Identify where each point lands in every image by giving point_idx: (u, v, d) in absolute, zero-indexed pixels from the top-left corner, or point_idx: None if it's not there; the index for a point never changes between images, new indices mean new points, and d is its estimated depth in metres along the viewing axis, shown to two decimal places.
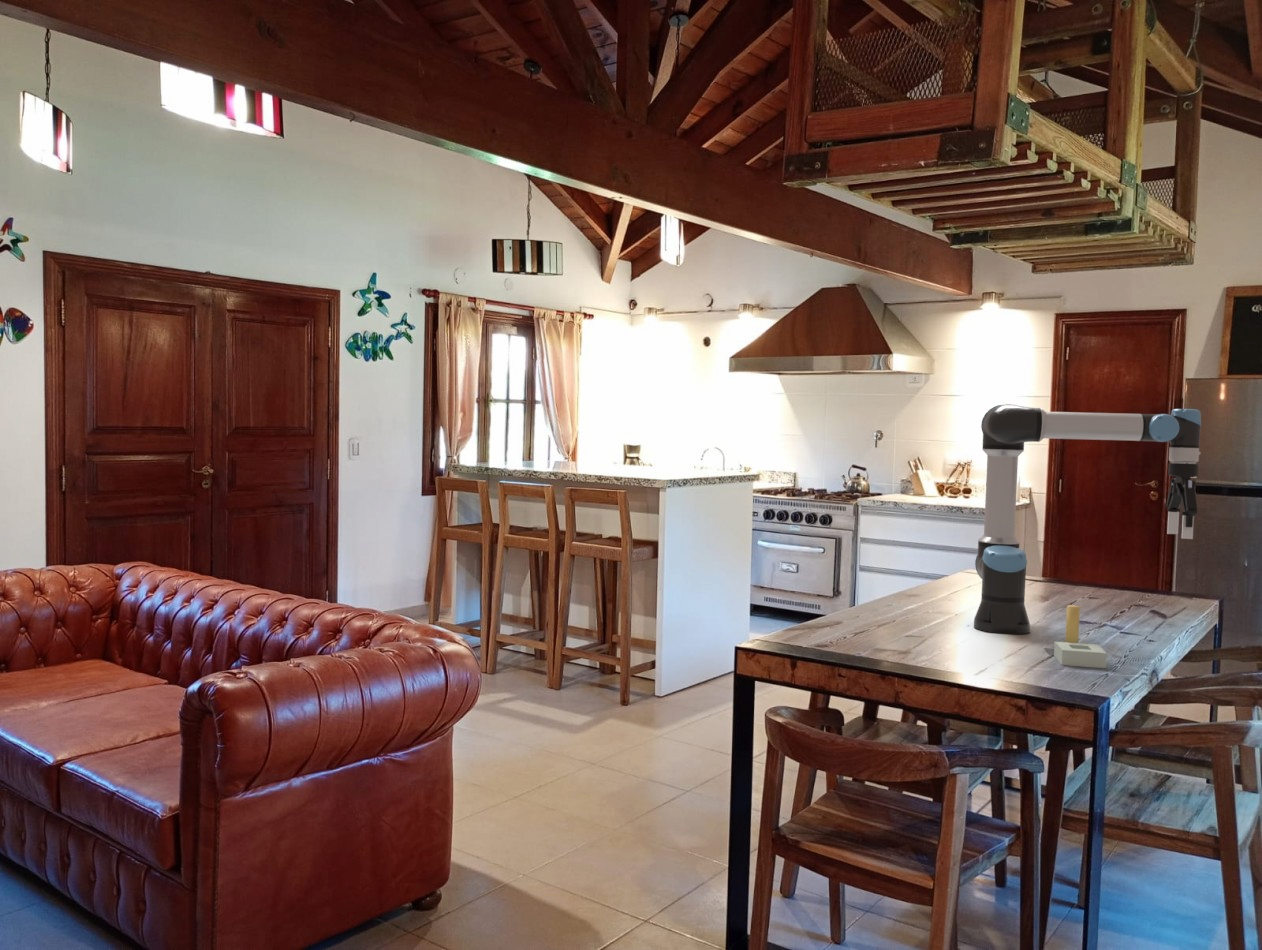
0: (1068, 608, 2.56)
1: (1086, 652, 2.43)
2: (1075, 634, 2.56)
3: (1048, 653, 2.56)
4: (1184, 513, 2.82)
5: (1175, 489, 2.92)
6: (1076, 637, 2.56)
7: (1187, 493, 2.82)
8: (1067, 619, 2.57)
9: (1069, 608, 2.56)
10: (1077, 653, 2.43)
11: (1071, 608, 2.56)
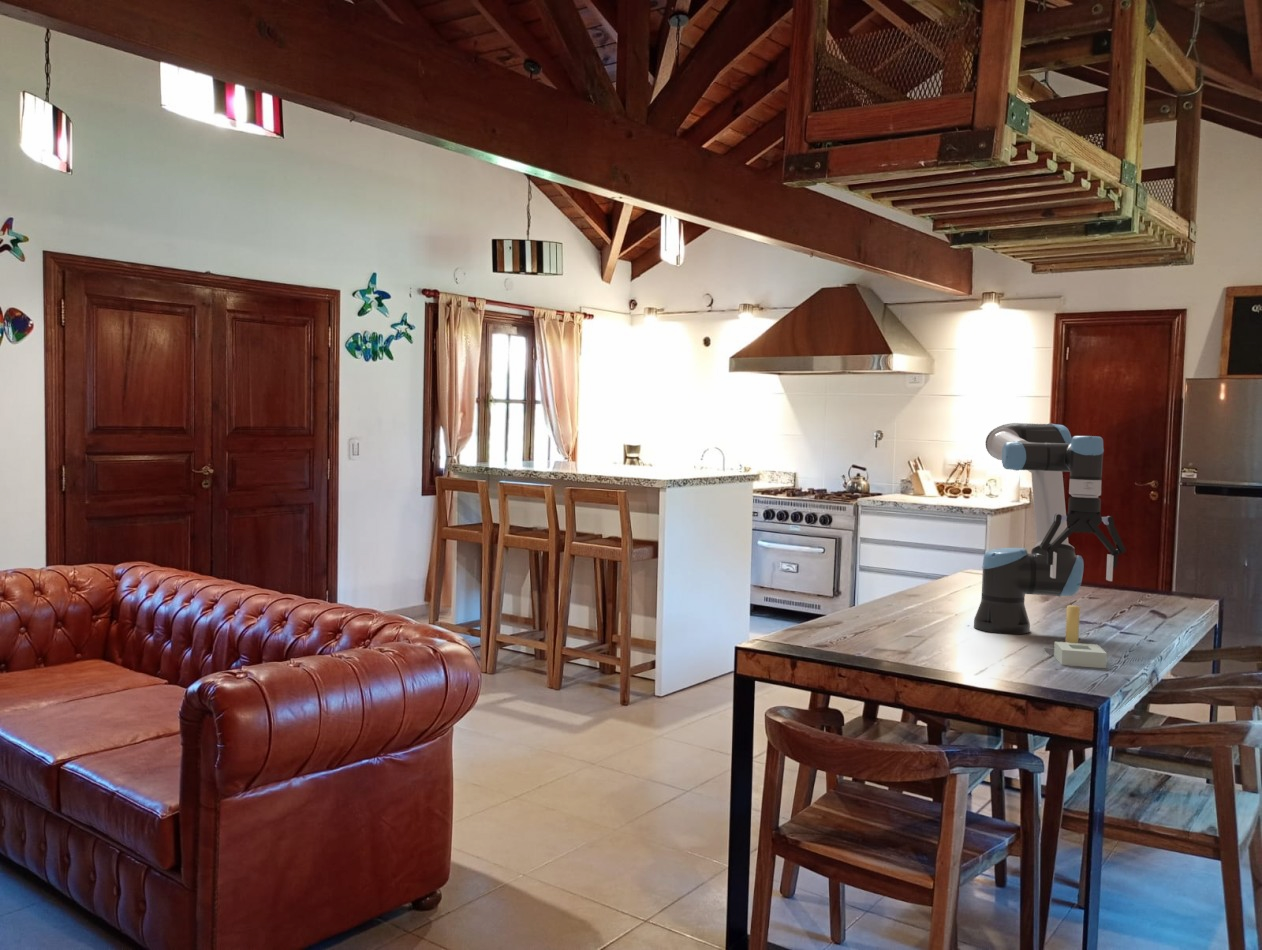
0: (1068, 608, 2.56)
1: (1086, 652, 2.43)
2: (1075, 634, 2.56)
3: (1048, 653, 2.56)
4: None
5: None
6: (1076, 637, 2.56)
7: (1050, 527, 2.59)
8: (1067, 619, 2.57)
9: (1069, 608, 2.56)
10: (1077, 653, 2.43)
11: (1071, 608, 2.56)
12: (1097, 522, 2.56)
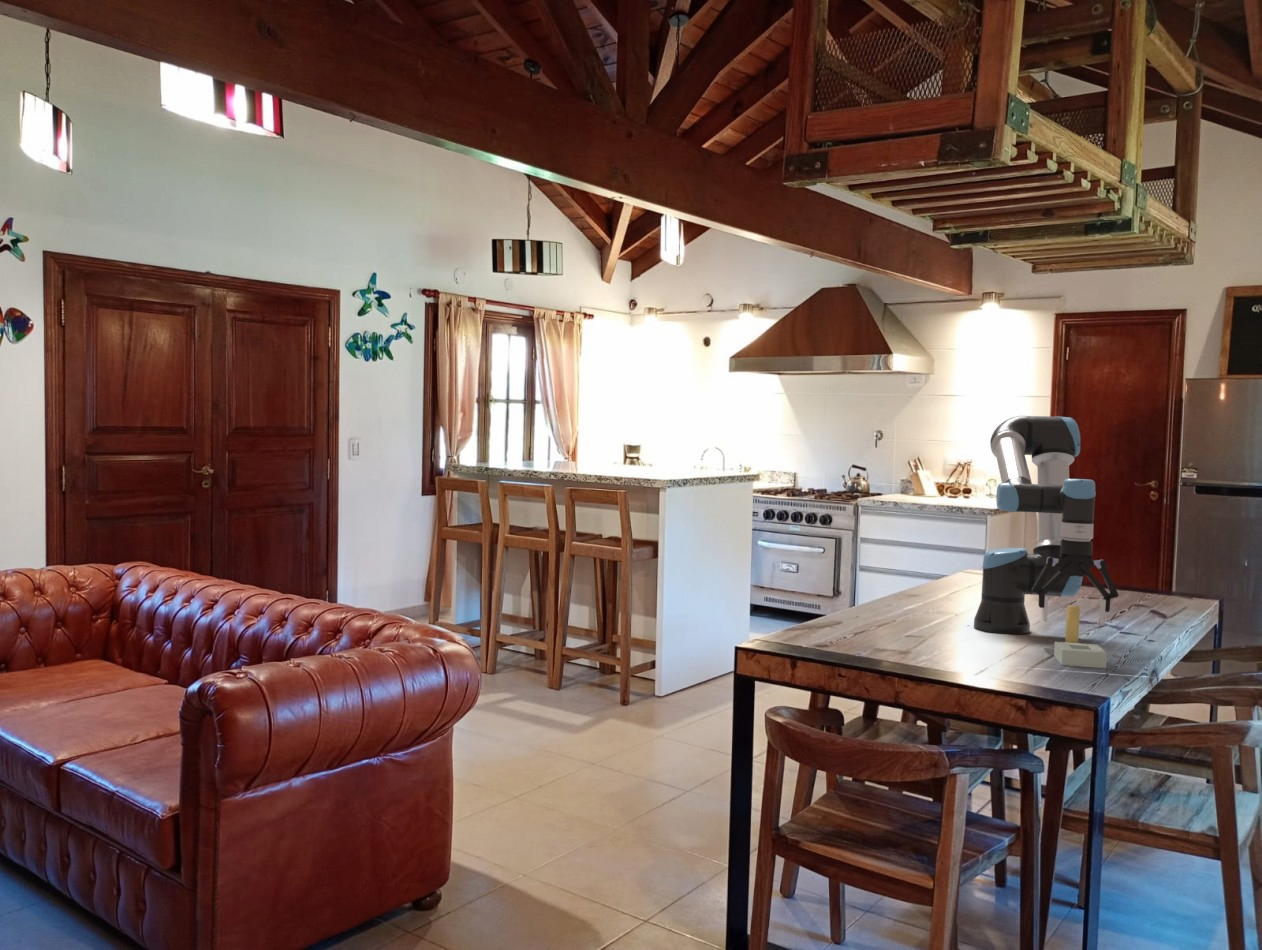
0: (1068, 608, 2.56)
1: (1086, 652, 2.43)
2: (1075, 634, 2.56)
3: (1048, 653, 2.56)
4: None
5: None
6: (1076, 637, 2.56)
7: (1042, 570, 2.59)
8: (1067, 619, 2.57)
9: (1069, 608, 2.56)
10: (1077, 653, 2.43)
11: (1071, 608, 2.56)
12: (1089, 566, 2.54)
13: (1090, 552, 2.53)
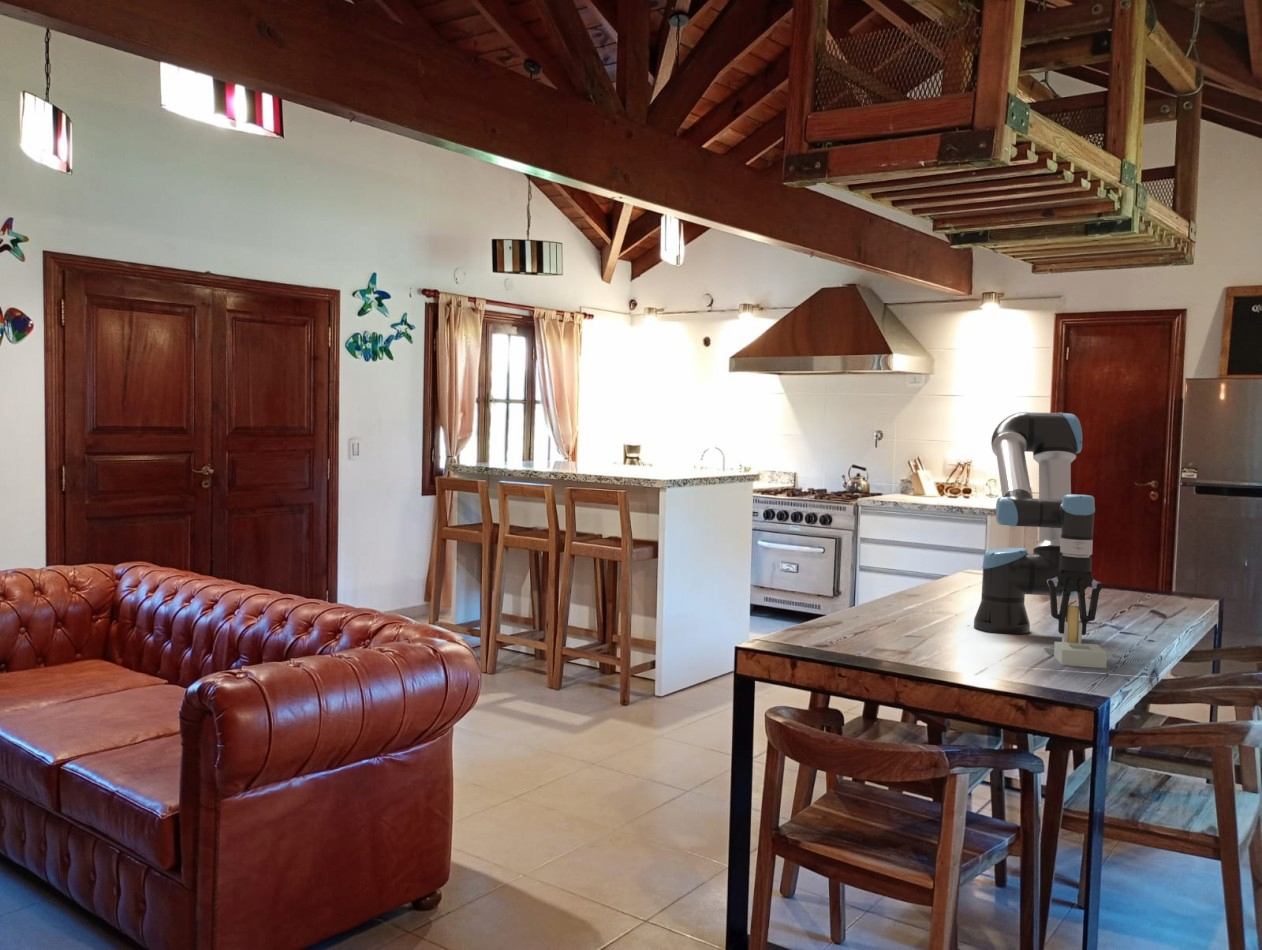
0: (1067, 608, 2.56)
1: (1086, 652, 2.43)
2: (1075, 634, 2.56)
3: (1048, 653, 2.56)
4: None
5: None
6: (1075, 637, 2.56)
7: (1050, 594, 2.59)
8: (1066, 619, 2.57)
9: (1068, 608, 2.56)
10: (1077, 653, 2.43)
11: (1070, 608, 2.56)
12: (1088, 581, 2.55)
13: (1089, 568, 2.53)
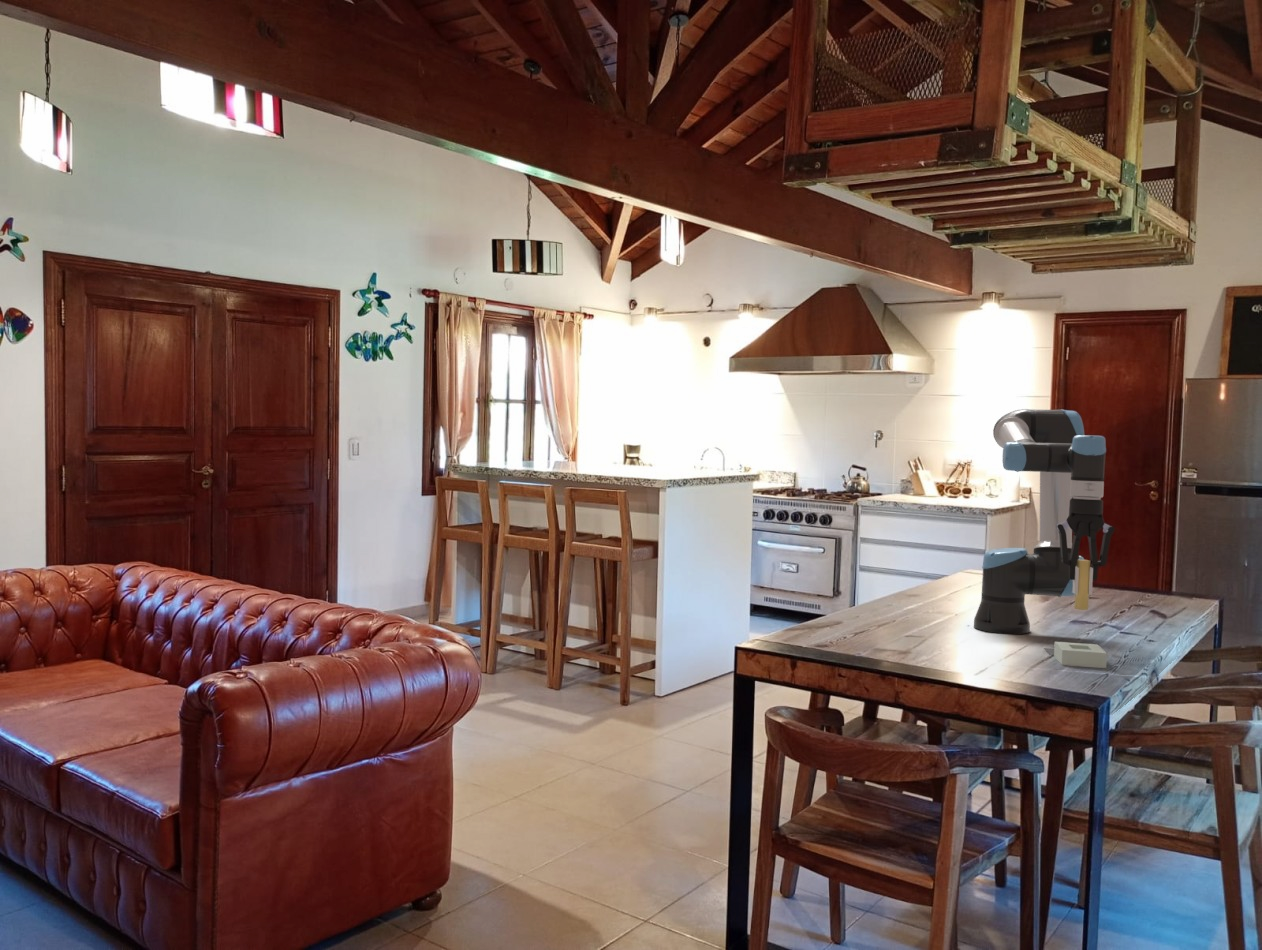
0: (1078, 562, 2.47)
1: (1086, 652, 2.43)
2: (1086, 589, 2.46)
3: (1048, 653, 2.56)
4: None
5: None
6: (1086, 591, 2.46)
7: (1059, 539, 2.49)
8: None
9: (1079, 562, 2.47)
10: (1077, 653, 2.43)
11: (1081, 562, 2.46)
12: (1099, 525, 2.45)
13: (1100, 511, 2.44)
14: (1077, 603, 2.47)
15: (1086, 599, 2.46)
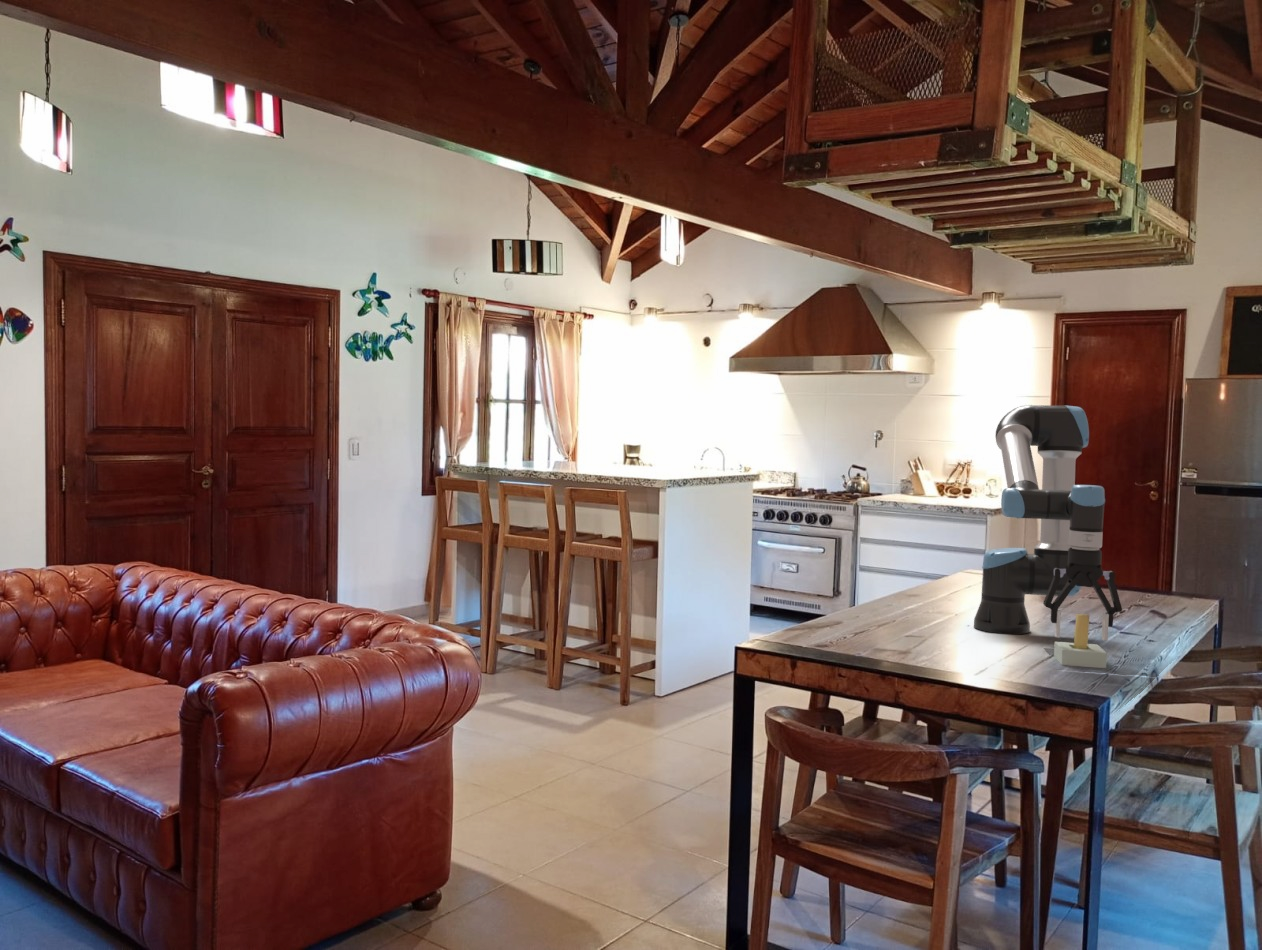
0: (1077, 617, 2.47)
1: (1086, 652, 2.43)
2: (1084, 644, 2.46)
3: (1048, 653, 2.56)
4: None
5: None
6: (1085, 646, 2.46)
7: (1051, 583, 2.49)
8: (1076, 628, 2.47)
9: (1078, 617, 2.46)
10: (1077, 653, 2.43)
11: (1080, 617, 2.46)
12: (1098, 575, 2.45)
13: (1099, 561, 2.43)
14: None
15: None
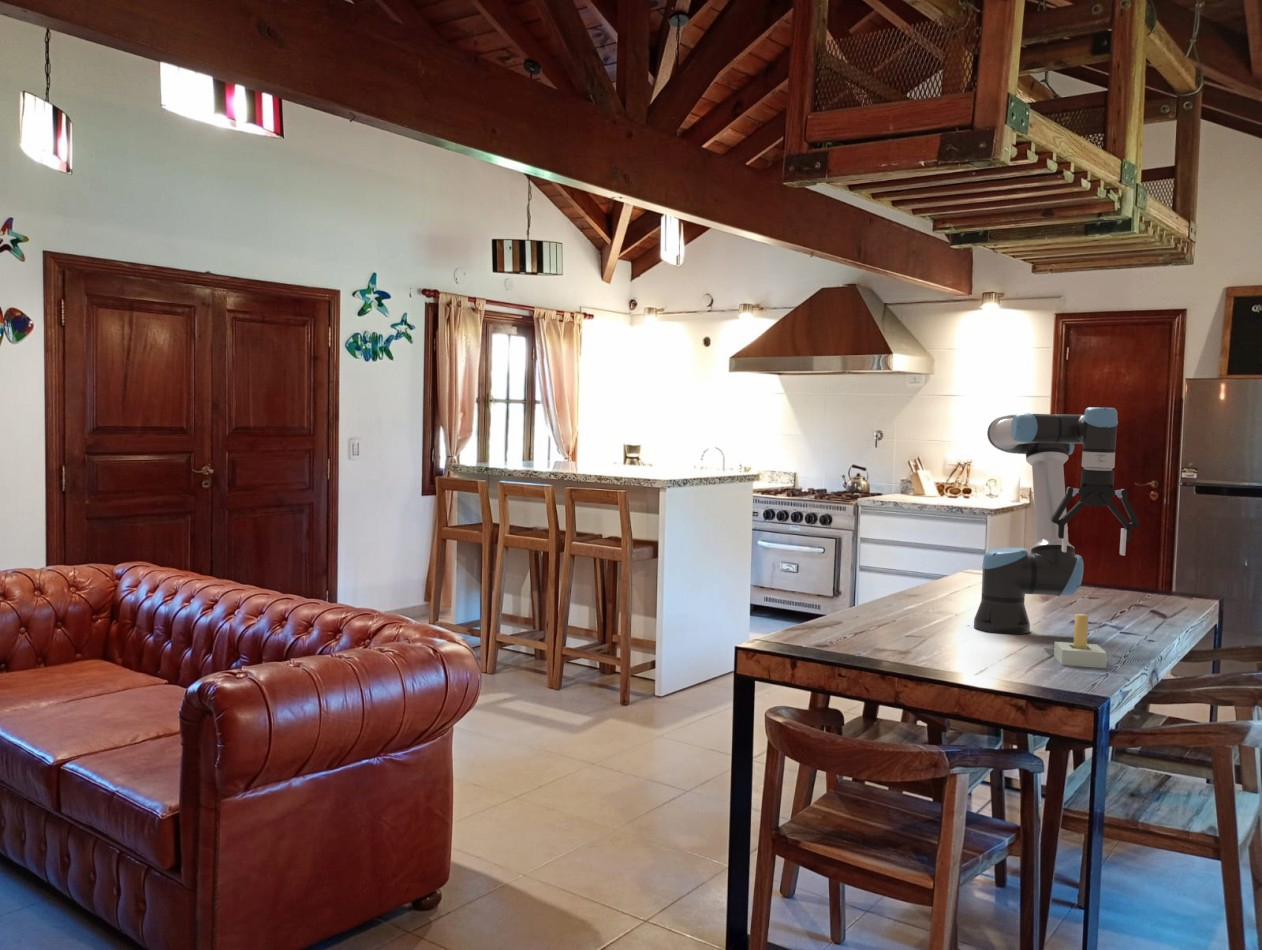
0: (1076, 617, 2.47)
1: (1086, 652, 2.43)
2: (1084, 644, 2.46)
3: (1048, 653, 2.56)
4: None
5: None
6: (1084, 646, 2.46)
7: (1062, 500, 2.55)
8: (1075, 628, 2.47)
9: (1077, 617, 2.46)
10: (1077, 653, 2.43)
11: (1079, 617, 2.46)
12: (1110, 495, 2.51)
13: (1111, 481, 2.49)
14: None
15: None
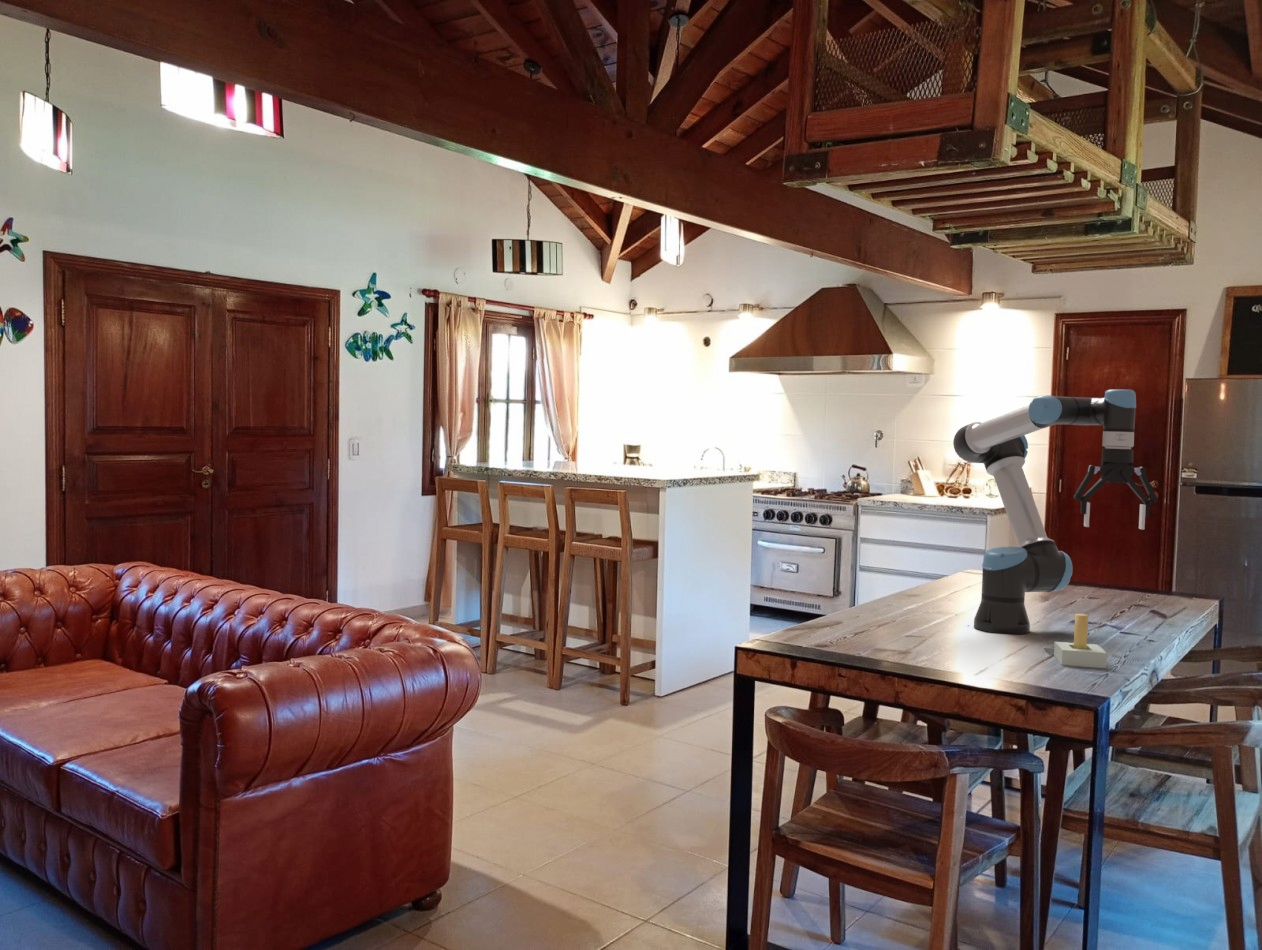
0: (1076, 617, 2.47)
1: (1086, 652, 2.43)
2: (1084, 644, 2.46)
3: (1048, 653, 2.56)
4: None
5: None
6: (1084, 646, 2.46)
7: (1084, 478, 2.70)
8: (1075, 628, 2.47)
9: (1077, 617, 2.46)
10: (1077, 653, 2.43)
11: (1079, 617, 2.46)
12: (1130, 473, 2.65)
13: (1131, 459, 2.64)
14: None
15: None
